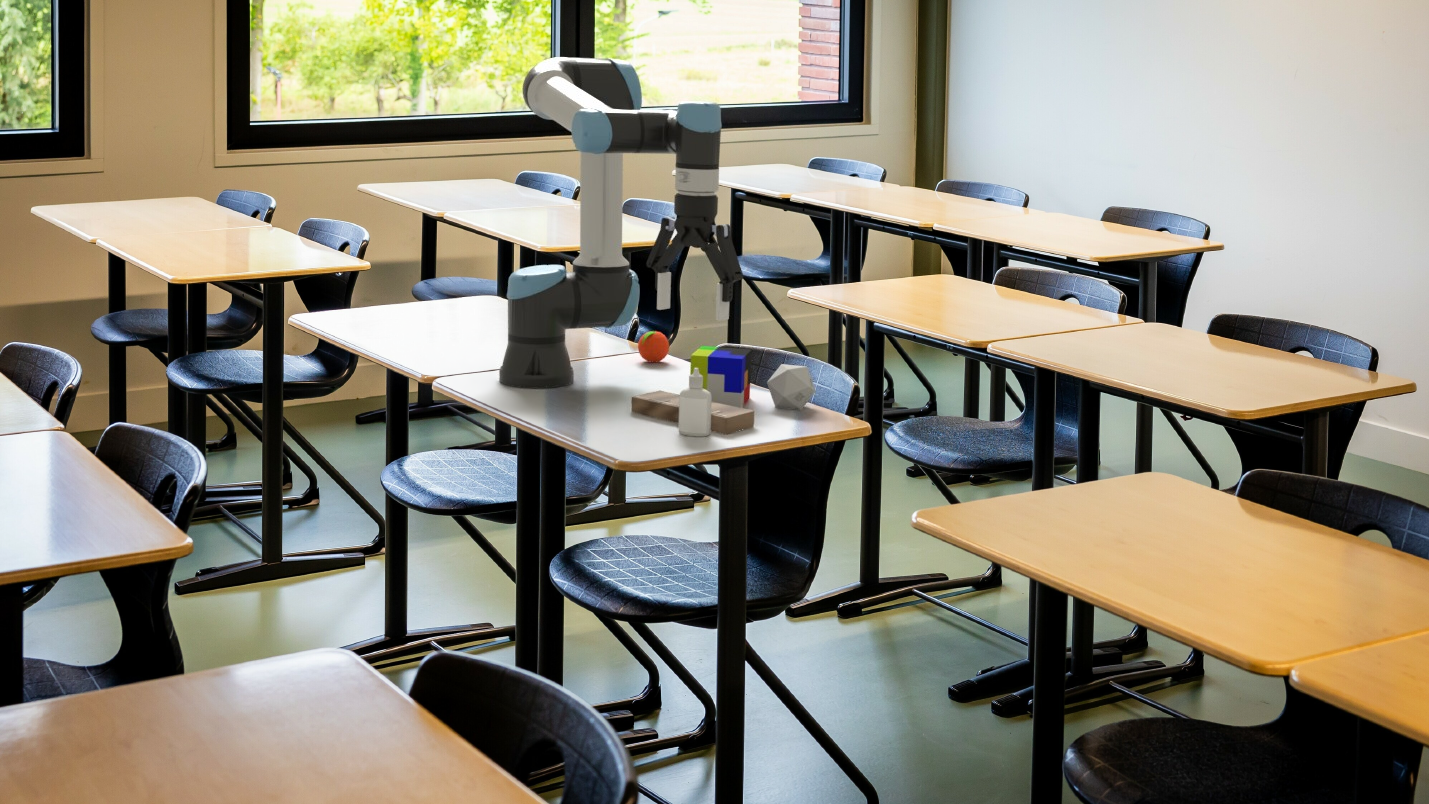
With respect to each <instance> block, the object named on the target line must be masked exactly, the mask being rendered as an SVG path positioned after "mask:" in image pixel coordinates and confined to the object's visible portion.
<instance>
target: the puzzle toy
mask: <svg viewBox="0 0 1429 804" xmlns="http://www.w3.org/2000/svg"><path fill="white" fill-rule="evenodd" d="M694 368H698V369H699V374H700V375H702V376H703V387H702V388H703V389H705V390H707V391H709V392H710V393H711V397H712V399H711V402H716V403H720V404H725V405H730V406H734V407H739V408H743V407H744V406H745V405H746V404H747V403H748V401H749V400H750V398H751V397H750V396H751V394H750V393H751V377H752V376H751V370H752V349H749V348H737V347H735V348H733V347H723V346H722V347H720V346H719V347H718V346H707V345H706V346H705V345H702V346H699V348H698V349H697V350H695V351H694V352H693V353H692V354H691V355H690V371H689V372H690V374H689V376H690V375H692V374H693V372H694Z"/></svg>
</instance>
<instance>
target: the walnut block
mask: <svg viewBox="0 0 1429 804" xmlns="http://www.w3.org/2000/svg"><path fill="white" fill-rule="evenodd" d="M679 396H680V393H679V394H678V393H674V392H668V391H664V390H656V391H655V390H654V391H652V392H647V393H646V392H645V393H643V394H638V395H633V396H631V405H630V407H631V409H630V413H631V414H633V413H634V414H636V415H641V416H647V417H649V418H654V419H658V420H663V421H667V422H671V423H675V424H679ZM754 427H755V410H752V409H748V408H743V407H742V408H739V407H734V406H730V405H725V404H720V403H716V402H711V432H714V433H718V434H722V433H723V435H729V433H730V434H734V433H737V432H740V431H739V430H741V431H743V430H742V429H744V430H747V428H748V429H751V428H754ZM736 431H737V432H736Z"/></svg>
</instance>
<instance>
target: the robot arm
mask: <svg viewBox="0 0 1429 804" xmlns="http://www.w3.org/2000/svg"><path fill="white" fill-rule="evenodd" d="M642 94H643V93H642V86H641V83H640V79H639V76H638V73H637V71H636V70H635V68H634V66H633V65H632V64H631V63H630V62H629V61H626V60H624V59H616V58H615V59H614V58H609V57H606V58H597V57H596V58H595V57H594V58H593V57H592V58H590V57H567V56H566V57H565V56H557V57H551V58H547V59H545V60H543V61H540V62H538V63H537V64H536V65H535V66H533V67H532V68H531V69H530V70H529V71H528V72H527V74H526V75H525V78H524V80H523V83H522V96H523V100H524V102H525V105H526V106H527V108H528V109H529V110H530V111H531V112H532V113H534V114H535V115H537V116H538V118H539V117H540V118H542V119H544V120H552V121H554V122H556V123H557V124H559V125H561V126H562V127H563V128H565V129H566V130H567V131H569V132H571V140H572V142H573V144H574V147H575V149H576V150H577V151H579V152H580V167H579V169H580V183H579V184H580V188H579V189H580V193H579V195H580V201H579V202H580V204H579V205H580V209H579V210H580V212H579V214H580V215H579V217H580V222H579V223H580V224H579V230H580V232H579V235H580V237H579V242H580V243H579V248H580V249H579V254H578V256H576V257H575V259H574V260H573V261H572V271H568V270H567V269H566V266H564V265H561V264H548V265H547V264H541V265H540V264H539V265H533V266H527V267H522V268H519V269H517V270H515V271H513V272H512V273H511V274H510V276H509V277H508V281H507V283H508V284H507V285H508V286H507V293H506V298H507V346H506V350H505V352H504V356H503V360H502V365H501V366H500V368H499V372H498V373H499V375H498V376H499V377H498V379H499V382H500V383H501V384H504V385H507V386H511V387H516V388H529V389H545V388H558V387H565V386H567V385H570V384H572V383H573V382H574V377H575V371H574V368H573V366H572V364H571V359H570V356H569V351H568V349H567V346H566V345H567V344H566V330H574V329H575V330H577V329H590V328H591V329H593V328H605V329H610V328H612V327H613V328H614V327H622V326H626V325H627V324H629V323H630V322H631V321H632V319H633V318H634V317H635V314H636V312H637V310H638V306H639V302H640V283H639V278H638V274H637V273H636V272H635V271H634V270H632V269H630V262H629V261H628V260H627V258H625V257H624V256H623V200H624V199H623V194H624V193H623V192H624V191H623V190H624V189H623V182H624V181H623V180H624V178H623V177H624V174H623V171H624V154H652V155H653V154H656V155H657V154H660V155H661V154H663V155H665V154H667V155H669V154H670V155H671V154H672V155H675V176H674V177H675V181H674V182H675V184H674V190H676V191H677V193H676V194H675V195H674V206H673V207H674V208H673V213H674V214H675V215H676V218H675V217H674V216H668V217H661V220H660V228H659V229H660V230H659V231H658V234H657V236H656V240H655V242H654V244H653V247H652V249H651V251H650V253H649V255H648V259H647V260H646V267H647V268H651V269H652V270H653V271H654V273H655V274H654V275H655V277H654V287H655V290H656V291H657V293H656V310H659V311H661V310H667V309H671V289H672V287H671V285H672V272H670V269H669V268H670V267H671V265H672V264H673V263H674V262H675V260H676V259H677V258H678V256H679V255H680V253H681V252H682V251H683V250H684V248H685V247H692V248H695V249H700V250H701V251H702V252H704V253H705V255H706V257H707V259H708V261H709V262H710V265H711V266H712V268H713V270H714V272H715V273H716V275H717V276H718V278H719V281H718V282H717V283H716V292H715V293H716V295H715V297H716V298H715V299H716V300H715V321H717V322H721V321H727V320H729V319H730V318H729V317H730V302H732V301H733V295H734V294H733V293H734V283H735V282H738V281H742V280H743V279H744V274H743V270H742V268H741V265H740V261H739V258H738V255H737V253H736V249H735V246H734V244H733V240H732V236H731V235H732V234H731V233H732V232H731V226H730V224H729V223H728V224H727V223H725V224H716V217H717V215H718V211H719V210H718V207H719V206H718V205H719V197H718V195H717V194H716V193H717V192H718V191H719V184H720V153H721V152H720V151H721V150H720V149H721V137H722V136H721V134H722V127H723V126H722V125H723V124H722V115H721V114H722V113H721V112H722V109H721V106H720V105H719V103H717V102H712V101H710V102H709V101H694V100H693V101H692V100H691V101H690V100H688V101H687V100H685V101H680V102H679V104H678V106H677V109H673V108H672V109H668V108H663V109H659V110H658V109H641V108H642V105H643V104H642V103H643V100H642V99H643V95H642ZM675 231H676V234H675V235H674V233H675ZM673 235H674V236H673ZM670 242H671V243H670ZM669 244H670V245H669Z"/></svg>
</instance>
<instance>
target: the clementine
mask: <svg viewBox="0 0 1429 804" xmlns="http://www.w3.org/2000/svg"><path fill="white" fill-rule="evenodd" d="M637 343H638V344H637V350H638V352H639V353H638V354H639V355H640V356H641V358H642V359H644V361H646V362H649V363H658V362H662V360H665V358H666V357H667V355H668V354H669V350H670V342H669V340H668V338H667V336H666V335H665V334H663V333H662V332H661V331H657V330H652V331H647V332H646V333H644V334H642V336H640V338H639V341H638V342H637Z"/></svg>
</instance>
